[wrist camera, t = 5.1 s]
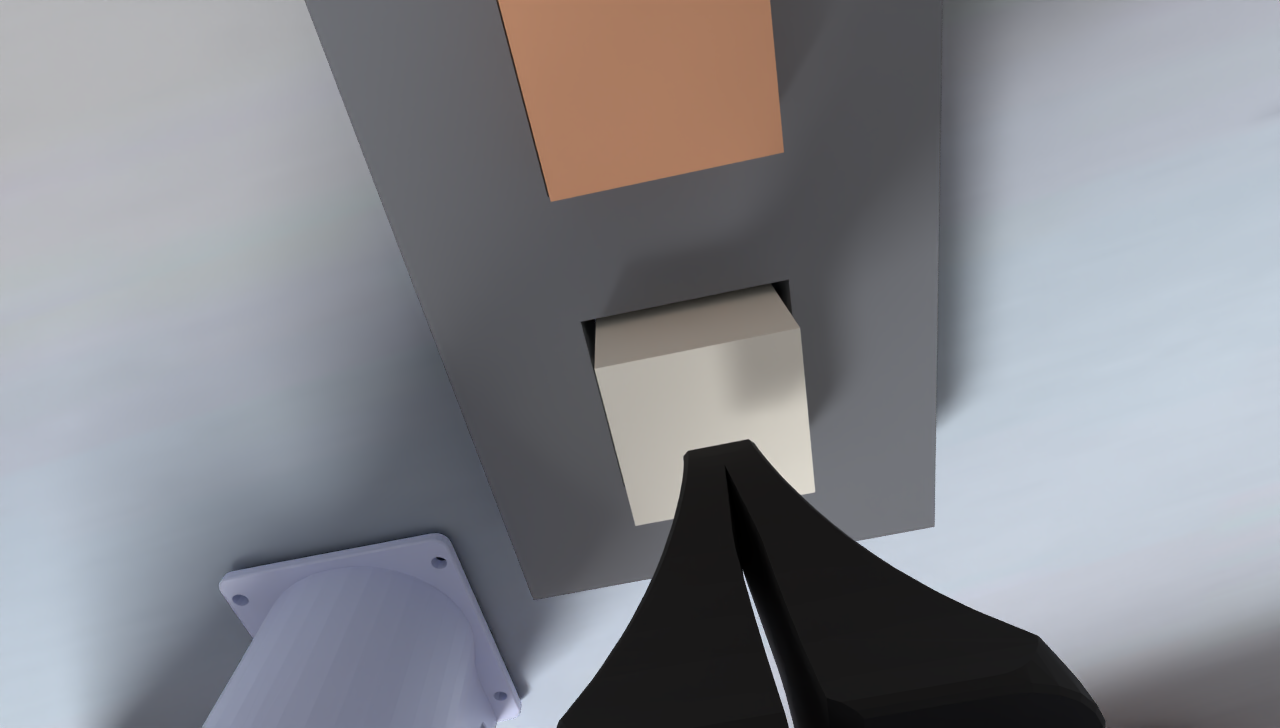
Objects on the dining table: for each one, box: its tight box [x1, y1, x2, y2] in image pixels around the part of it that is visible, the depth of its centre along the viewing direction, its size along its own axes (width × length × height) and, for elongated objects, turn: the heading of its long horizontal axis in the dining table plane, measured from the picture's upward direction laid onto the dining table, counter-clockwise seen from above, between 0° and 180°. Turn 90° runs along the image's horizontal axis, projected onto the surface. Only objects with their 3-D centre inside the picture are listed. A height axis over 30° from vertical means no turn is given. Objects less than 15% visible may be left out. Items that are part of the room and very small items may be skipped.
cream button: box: [594, 283, 815, 526], centre depth 16 cm, size 4×4×3 cm
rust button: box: [498, 0, 784, 202], centre depth 12 cm, size 4×4×3 cm
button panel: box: [305, 0, 942, 600], centre depth 14 cm, size 28×12×3 cm, turn 11°
